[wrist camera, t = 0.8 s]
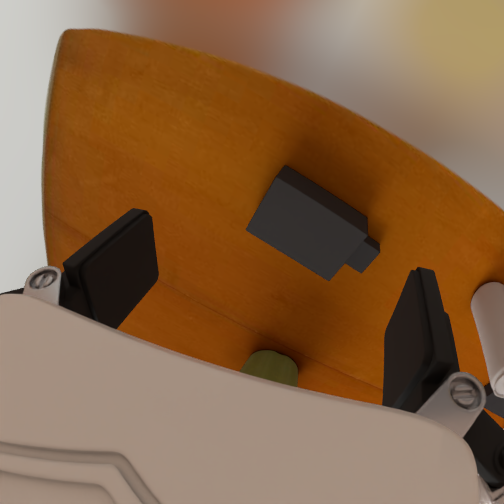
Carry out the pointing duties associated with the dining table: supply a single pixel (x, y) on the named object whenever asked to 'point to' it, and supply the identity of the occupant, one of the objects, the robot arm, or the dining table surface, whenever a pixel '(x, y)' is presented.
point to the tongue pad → (313, 226)
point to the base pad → (494, 402)
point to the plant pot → (272, 367)
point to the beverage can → (491, 330)
